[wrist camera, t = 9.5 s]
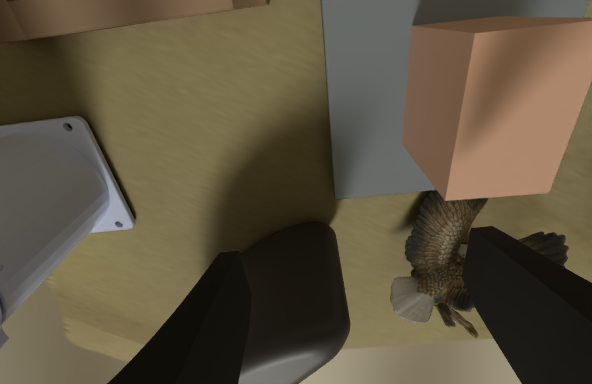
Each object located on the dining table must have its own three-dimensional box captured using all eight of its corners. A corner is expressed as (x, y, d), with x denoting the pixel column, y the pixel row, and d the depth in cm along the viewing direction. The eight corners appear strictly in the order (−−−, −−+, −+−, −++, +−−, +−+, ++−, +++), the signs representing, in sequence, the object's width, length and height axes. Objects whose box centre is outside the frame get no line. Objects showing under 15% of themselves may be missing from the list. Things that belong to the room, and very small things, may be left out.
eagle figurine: (485, 297, 24) (575, 219, 18) (467, 377, 19) (584, 306, 13) (396, 243, 26) (448, 159, 20) (360, 301, 21) (416, 213, 15)
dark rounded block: (287, 190, 20) (279, 310, 12) (339, 223, 22) (364, 351, 13) (182, 316, 27) (132, 447, 19) (227, 335, 28) (199, 465, 20)
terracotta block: (401, 144, 17) (445, 200, 12) (411, 25, 14) (474, 33, 9) (473, 138, 17) (548, 192, 12) (499, 15, 14) (615, 17, 9)
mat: (334, 191, 20) (335, 199, 19) (318, -29, 14) (319, -32, 13) (522, 172, 19) (533, 180, 18) (593, -72, 13) (613, -77, 12)
